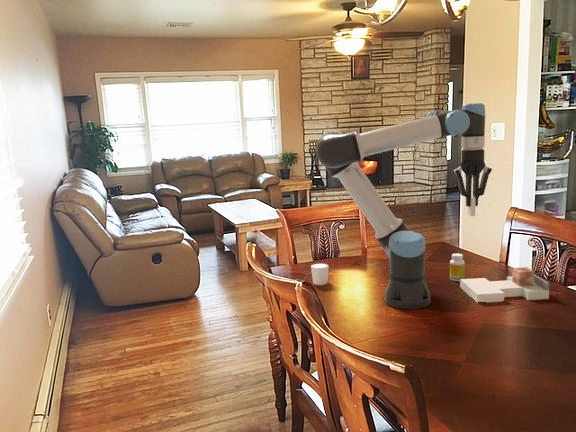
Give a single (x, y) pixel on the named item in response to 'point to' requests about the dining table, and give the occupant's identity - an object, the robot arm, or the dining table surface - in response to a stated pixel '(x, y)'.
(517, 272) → the block
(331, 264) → the dining table surface
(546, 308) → the dining table surface
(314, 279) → the white cup
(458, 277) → the supplement bottle
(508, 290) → the board
